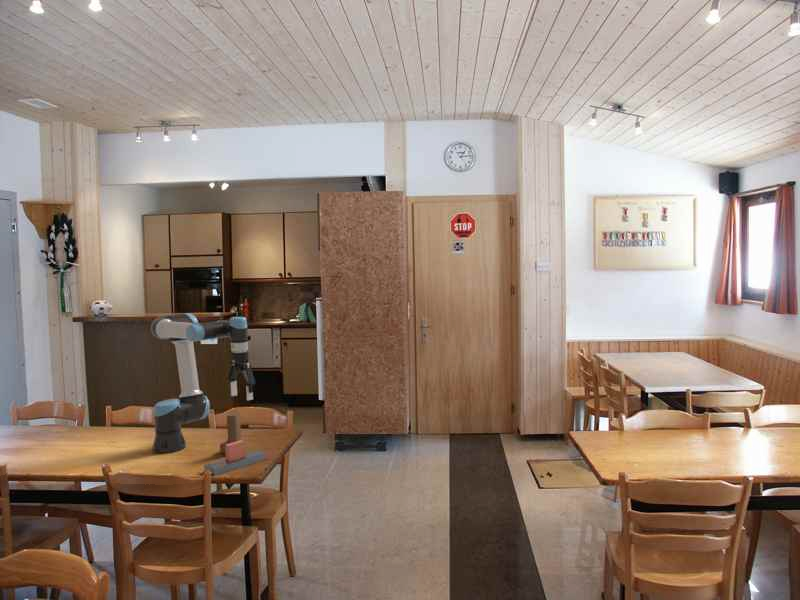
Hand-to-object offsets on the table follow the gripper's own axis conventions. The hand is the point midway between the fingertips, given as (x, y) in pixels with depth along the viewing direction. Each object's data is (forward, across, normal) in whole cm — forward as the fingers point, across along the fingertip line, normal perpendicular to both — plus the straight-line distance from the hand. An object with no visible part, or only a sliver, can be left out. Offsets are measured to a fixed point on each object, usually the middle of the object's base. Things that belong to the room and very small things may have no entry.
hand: (242, 397), depth 280 cm
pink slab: (+27, +8, -9) cm, 30 cm away
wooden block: (+28, -11, -1) cm, 30 cm away
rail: (+27, +8, -9) cm, 30 cm away
